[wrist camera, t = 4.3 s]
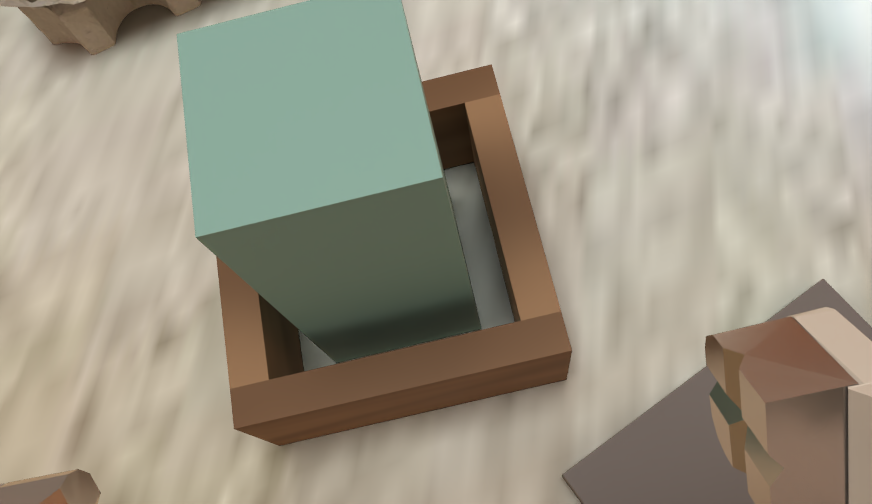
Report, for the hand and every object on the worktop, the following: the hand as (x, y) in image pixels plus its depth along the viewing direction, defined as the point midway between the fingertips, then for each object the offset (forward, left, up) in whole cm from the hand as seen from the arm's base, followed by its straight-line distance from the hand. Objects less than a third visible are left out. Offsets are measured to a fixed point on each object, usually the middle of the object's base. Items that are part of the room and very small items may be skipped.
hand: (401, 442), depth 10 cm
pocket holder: (+7, -2, -12) cm, 13 cm away
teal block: (+7, -2, -12) cm, 13 cm away
